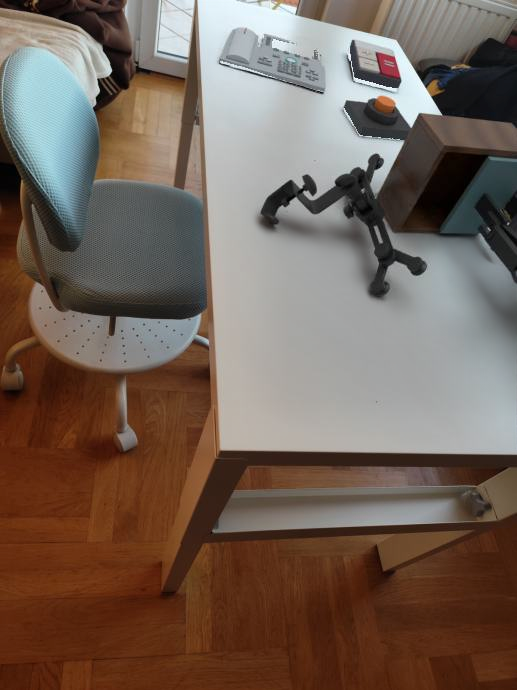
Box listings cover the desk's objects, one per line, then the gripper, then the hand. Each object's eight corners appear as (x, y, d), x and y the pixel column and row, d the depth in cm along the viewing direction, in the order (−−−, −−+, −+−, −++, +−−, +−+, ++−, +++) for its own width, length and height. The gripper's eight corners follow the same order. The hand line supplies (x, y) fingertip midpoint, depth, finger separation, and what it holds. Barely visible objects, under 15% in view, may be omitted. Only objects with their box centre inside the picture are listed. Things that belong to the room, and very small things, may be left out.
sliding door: (480, 230, 85) (534, 160, 74) (500, 257, 82) (559, 187, 71) (439, 229, 82) (488, 156, 71) (457, 257, 79) (511, 184, 68)
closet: (457, 203, 91) (511, 122, 79) (479, 233, 86) (540, 153, 74) (374, 200, 85) (419, 112, 73) (393, 232, 80) (444, 145, 68)
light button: (387, 104, 101) (391, 96, 100) (395, 115, 99) (398, 107, 98) (370, 103, 100) (374, 94, 98) (378, 113, 98) (381, 105, 96)
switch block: (390, 115, 107) (398, 97, 104) (409, 141, 101) (418, 123, 98) (342, 110, 103) (349, 91, 100) (359, 137, 98) (367, 118, 94)
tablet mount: (328, 325, 74) (429, 270, 66) (269, 280, 65) (378, 208, 57) (303, 212, 90) (382, 156, 82) (253, 162, 81) (336, 93, 72)
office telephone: (220, 52, 100) (232, 17, 113) (218, 65, 102) (230, 29, 115) (327, 82, 103) (328, 45, 115) (323, 94, 105) (324, 56, 117)
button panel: (359, 66, 110) (353, 35, 118) (351, 84, 113) (346, 53, 122) (403, 78, 112) (394, 47, 120) (395, 96, 115) (387, 64, 124)
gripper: (514, 332, 66) (437, 218, 78) (609, 324, 72) (524, 220, 84) (553, 295, 60) (463, 178, 72) (653, 290, 66) (554, 183, 79)
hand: (496, 201), depth 78 cm, fingers closed on sliding door, 5 cm apart
